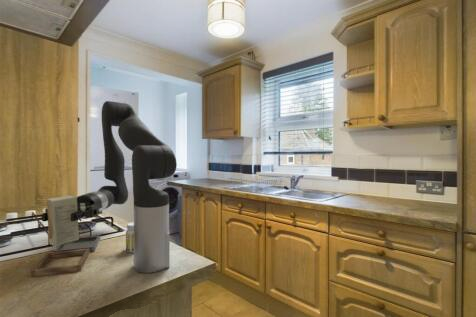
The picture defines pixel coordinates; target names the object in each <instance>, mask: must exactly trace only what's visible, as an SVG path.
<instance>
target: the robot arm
mask: <svg viewBox="0 0 476 317" xmlns="http://www.w3.org/2000/svg"><path fill="white" fill-rule="evenodd" d="M101 127H102V138H103V139H102V141H103V148H104V150H103V151H104V178H105V180H107V181H111V182H113V183H114V184H115V185H104V186H100V187H99V189H97V190H95V191H91V192H88V193H85V194H81V195H78V196H76V197H77V211H76V212H74V213H72V214H71V221H77V220H78V221H79V220H80V219H81V220H87V219H92V218H95V217H97V216H100V215H101V214H102V213H103V211H104V210H106V209H108V208H110V207H111V206H112V205H124V204H125V203H126V202H127V201H128V198H129V190H128V186H127V182H126V178H125V161H126V160H125V156H124V153H123V150H122V148H121V147H120V146H119V144H118V142H117V141H116V139H115V137H114V134H113V129H112V128H113V127H118V131H117V133H118V134H117V135H118V136H119V139H120V140H121V142H122V143H123V145H124V147H126V148H127V149H128V150H130V151H132V155H131V170H132V171H131V172H132V194H133V195H132V196H133V222H134V252H133V269H134V270H135V271H136V272H138V273H145V274H146V273H147V274H148V273H150V274H151V273H156V272H159V271H161V270H164V269H167V268H170V253H171V252H170V249H171V248H170V246H171V245H170V241H171V240H170V239H171V238H170V236H171V234H170V213H169V212H170V195H169V193H168V192H166V191H163V190H160V189H156V188H154V187H152V186H151V185H150V180H160V179H161V180H163V179H168V178H170V177H172V176H173V175H174V174H175V172H176V170H177V166H178V164H177V158H176V155H175V153H174V150H172V148H171V147H170V146H168V144H166V143H165V142H163V141H162V140H161V139H160V138H158V136H156V135H155V134H154V133H153V132H152V131H151V130H150V129H149V127H148V126H147V125H146V123H144V122H143V121H142V120H141V118H139V116H138V115H137V113H136V111H135V109H134V107H133V106H132V105H131V104H129V103H125V102H119V101H118V102H117V101H116V102H115V101H110V100H107V101H104V102H103V103H102V107H101ZM41 221H42V222H48V214H47V207H45V211H44V212H43V213H41Z"/></svg>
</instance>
